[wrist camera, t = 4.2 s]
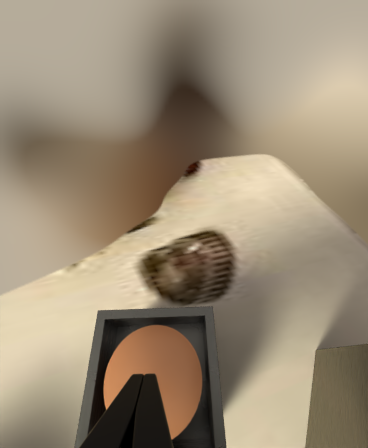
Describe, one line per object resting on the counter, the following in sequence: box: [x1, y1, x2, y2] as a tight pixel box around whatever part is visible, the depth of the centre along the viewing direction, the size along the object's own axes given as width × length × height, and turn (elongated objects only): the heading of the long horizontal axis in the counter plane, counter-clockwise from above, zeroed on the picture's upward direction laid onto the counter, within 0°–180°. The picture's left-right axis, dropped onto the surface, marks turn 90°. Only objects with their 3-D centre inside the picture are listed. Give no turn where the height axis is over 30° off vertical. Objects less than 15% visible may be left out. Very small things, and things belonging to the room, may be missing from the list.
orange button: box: [104, 325, 202, 439], centre depth 13 cm, size 5×5×2 cm
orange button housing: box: [75, 307, 226, 448], centre depth 15 cm, size 7×7×8 cm
